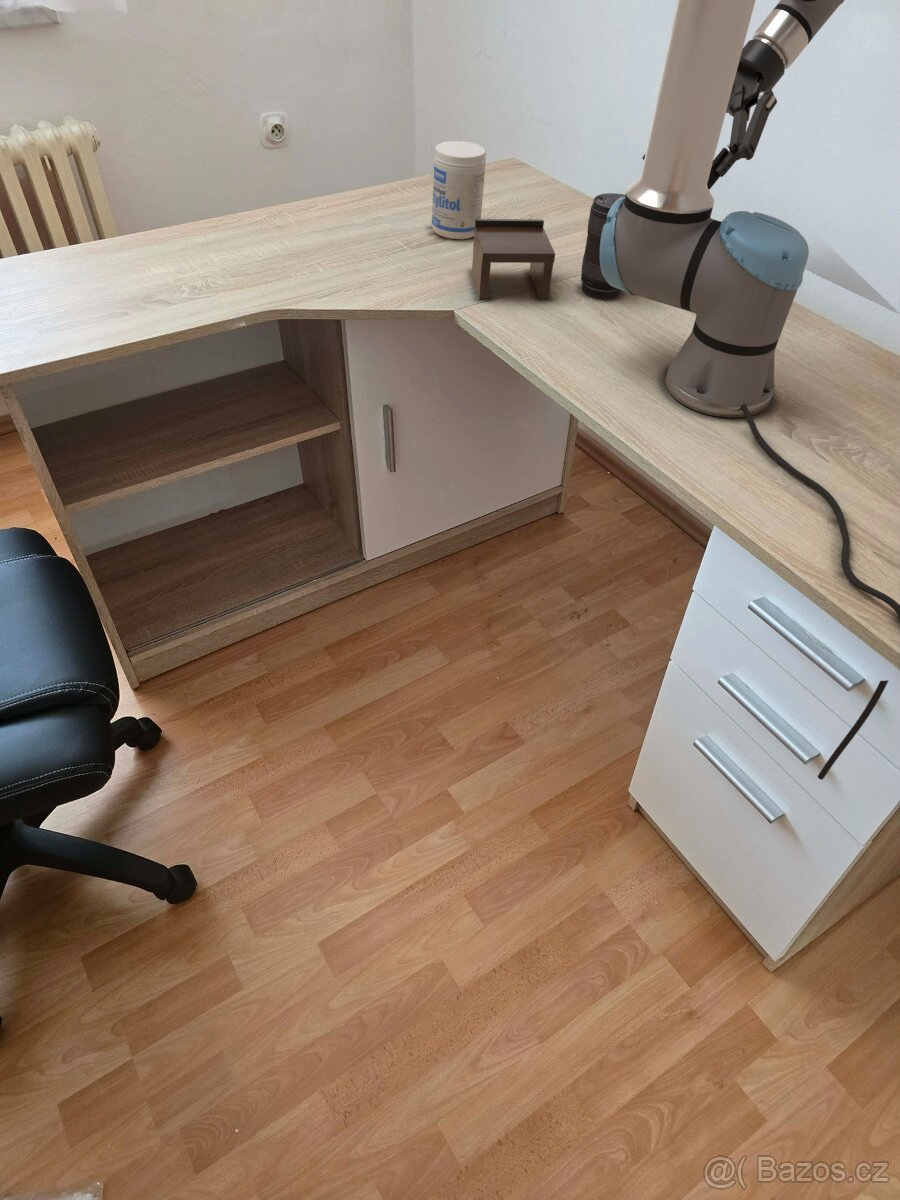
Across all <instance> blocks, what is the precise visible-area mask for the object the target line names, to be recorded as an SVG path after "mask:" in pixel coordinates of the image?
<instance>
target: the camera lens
mask: <svg viewBox="0 0 900 1200" xmlns="http://www.w3.org/2000/svg"><path fill="white" fill-rule="evenodd" d="M625 195H626V194H623V193H617V192H616V193H615V192H614V193H613V192H612V193H611V192H609V193H602V194H598V195H596V196H595V197H594V198H593V202H592V204H591V206H590V209H589V217H588V222H587V223H588V224H587V232H586V233H587V236H586V242H585V248H584V254H583V256H582V261H581V262H582V263H581V275H580V280H581V282H582V283H581V291H582V292H583V293H584V294H585V295H586V296H588V297H590V298H594V299H598V300H599V299H600V300H611V299H614V298H616V297H619V295H620V293H621V290H620V289H617V288H615V287H612V286H611V285H609V284H608V283H607V282H606V280H605V278H604V276H603V274H602V271H601V267H600V241H601V235H602V230H603V226H604V224H606V222H607V215H608V212H609V210H610V208H611V207H612V205H613V204H614V202H615V201H617V200H618V199H619V198H621V197H624V196H625Z"/></svg>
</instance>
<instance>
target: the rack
mask: <svg viewBox="0 0 900 1200" xmlns="http://www.w3.org/2000/svg"><path fill="white" fill-rule="evenodd" d="M544 225H545V220H544V219H537V218H535V219H531V218H530V219H528V218H527V219H526V218H525V219H524V218H523V219H522V218H521V219H520V218H481V219H475V225H474V236H473V247H472V262H471V263H472V265H471V274H472V277H473V281H474V286H475V289H476V294H477V297H478V300H480V301H481V300H483V301H485V300H489V291H490V289H489V288H490V278H491V277H490V276H491V265H492V263H493V264H494V263H496V264H497V263H501V264H503V263H507V264H509V263H511V264H512V263H514V264H516V263H519V264H521V263H523V264H528V263H529V272H528V273H529V275H530V278H531V279H532V283H533V285H534V288H535V291H536V293H537V296H538V298H539V300H540V301H541V300H544V301H545V300H546V301H548V300H549V298H550V291H551V290H550V289H551V282H552V275H553V267H554V264H555V259H556V252H555V250H554V247H553V246H552V244H551V241H550V239H549V237H548V235H547V232H546V231H545V228H544Z"/></svg>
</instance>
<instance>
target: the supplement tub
mask: <svg viewBox="0 0 900 1200" xmlns="http://www.w3.org/2000/svg"><path fill="white" fill-rule="evenodd" d="M434 152H435V153H434V157H433V158H434V159H433V178H432V179H433V181H432V199H431V201H432V205H431V229H432V231H433V232H434V233H435V234H437V235H438V236H440V237H443V238H446V239H450V240H454V239H455V240H467V239H471V238H474V225H475V219H482V211H483V210H482V209H483V198H484V187H485V175H486V163H487V158H486V155H487V151H486V148H485V147H483V146H482V145H480V144H477V143H474V142H472V141H464V140H447V141H442V142H440V143H438V144H437V145H436V146H435V151H434Z"/></svg>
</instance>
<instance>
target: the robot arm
mask: <svg viewBox="0 0 900 1200" xmlns="http://www.w3.org/2000/svg"><path fill="white" fill-rule="evenodd" d="M844 2H845V0H779V1H778V3H777V4H776V6H775V7H773V9H772V10H771V12H770V13H769V14H768V15H767V16H766V18H765V19H764V20H763V21H762V23H761V24H760V25H759V26H758V28H757V29H756V30H755V32H754V33H753V34H752V39H750V40H748V41H747V42H746V44H745V41H746V38H747V34H748V30H749V26H750V24H751V23H750V22H751V19H752V15H753V11H754V7H755V4H756V0H676V4H675V8H674V9H675V10H674V15H673V18H672V23H671V29H670V34H669V38H668V44H667V49H666V53H665V58H664V63H663V68H662V72H661V77H660V82H659V86H658V91H657V96H656V101H655V106H654V111H653V116H652V121H651V126H650V129H649V130H650V131H649V136H648V140H647V144H646V150H645V153H644V154H643V156H642V157H641V159H642V160H643V165H642V169H641V174H640V175H639V177H638V178H637V179H636V180H635V181H633V182H631V184H629V185H627V188H626V190H625V194H624V195H625V196H624V197H621V198H619V199H618V200H617V201H615V202H614V204H613V205H612V207H611V208H610V210H609V212H608V215H607V222H606V224H604V226H603V230H602V235H601V241H600V267H601V271H602V274H603V276H604V278H605V280H606V282H607V283H608V284H609V285H611V286H612V287H615V288H617V289H620V291H623V292H626V294H628V295H630V296H633V297H634V296H635V297H640V298H643V299H646V300H651V301H654V302H657V303H660V304H663V305H667V306H671V307H672V308H673V307H674V308H677V309H681V310H684V311H687V312H691V313H694V314H695V320H694V323H693V327H692V330H691V332H690V334H689V335H688V337H687V339H686V340H685V342H684V343H683V345H682V346H681V348H680V349H679V351H678V352H677V353H676V355H675V357H674V358H673V359H672V361H671V363H670V364H669V366H668V369H667V372H666V376H665V387H666V389H667V391H668V392H669V394H670V395H671V396H672V397H673V398H674V399H675V400H676V401H678V403H680V404H682V405H683V406H685V407H688V408H689V409H692V410H694V411H696V412H699V413H703V414H706V415H710V416H714V417H719V418H720V417H721V418H732V419H733V418H734V419H735V418H745V420H746V421H747V423H748V426H749V428H750V431H751V433H752V435H753V437H754V438H755V440H756V441H757V442H758V444H759V445H760V447H761V448H762V449H763V450H764V451H765V453H767V454H768V456H770V457H771V458H772V459H773V460H774V461H775V462H777V464H779V465H780V466H781V467H782V468H784V470H786V471H787V472H788V473H790V474H791V475H793V476H794V477H795V478H797V479H799V480H800V481H802V482H803V483H805V484H806V485H808V486H809V487H812V488H813V489H814V490H816V491H817V492H818V493H819V494H820V495H821V496H823V497H824V499H825V500H826V501H827V502H828V503H829V505H830V506H831V508H832V510H833V511H834V514H835V517H836V520H837V522H838V523H837V524H838V526H839V530H840V535H841V538H842V548H841V556H840V557H841V559H840V560H841V566H842V569H843V572H844V574H845V576H846V578H847V579H848V581H850V583H852V584H853V585H854V586H855V587H856V588H857V589H859V590H861V591H863V592H864V593H867V594H868V595H870V596H872V597H875V598H876V599H878V600H880V601H881V602H883V603H885V604H886V605H888V606H889V607H890V608H891V609H892V610H893V611H894V612H895V613H896V614H897V617H898V619H899V620H900V604H899V603H898V602H897V601H896V600H895V599H894V598H892V597H891V596H889V595H887V594H885V592H882V591H880V590H878V589H876V588H874V587H872V586H869V585H868V584H866V583H865V582H863V581H862V580H860V579H859V578H858V577H857V576H856V575H855V574H854V572H853V570H852V568H851V566H850V561H849V560H850V559H849V554H850V546H851V544H850V543H851V542H850V534H849V531H848V527H847V524H846V523H847V522H846V520H845V516H844V514H843V510H842V509H841V506H840V504H839V503H838V502H837V500H836V499H835V498H834V496H833V495H832V494H831V493H830V492H829V491H828V490H827V489H826V488H824V487H823V486H822V485H821V484H820V483H818V482H817V481H815V480H813V479H812V478H810V477H809V476H807V475H805V474H804V473H802V472H800V471H799V470H797V469H796V468H795V467H793V466H792V465H791V464H790V463H789V462H787V460H785V459H784V458H782V457H781V456H780V455H779V454H778V453H777V452H776V451H775V450H774V449H773V448H772V447H771V446H770V444H768V443H767V442H766V440H765V438H763V436H762V435H761V434H760V432H759V430H758V427H757V425H756V422H755V420H754V418H753V416H754V415H756V414H760V413H762V412H763V411H764V410H765V409H767V407H768V406H769V405H770V402H771V400H772V397H773V395H774V391H775V366H776V365H775V361H776V358H775V357H776V348H777V346H778V343H779V340H780V338H781V335H782V332H783V330H784V327H785V323H786V321H787V319H788V316H789V313H790V310H791V308H792V305H793V303H794V300H795V297H796V295H797V292H798V289H799V288H800V287H801V285H802V283H803V281H804V279H803V277H804V272H805V270H806V267H807V262H808V260H809V255H810V249H809V244H808V242H807V240H806V238H805V237H804V236H803V235H802V233H800V231H798V229H796V228H795V227H794V226H792V225H791V224H790V223H787V222H785V221H784V220H782V219H780V218H777V217H775V216H772V215H769V214H765V213H761V212H758V211H757V212H756V211H754V212H750V211H747V210H739V211H734V212H733V211H732V212H730V213H728V214H727V215H726V216H725V217H724V219H722V221H720V220H717V219H714V218H712V217H711V216H712V213H713V208H714V205H715V199H714V196H713V194H712V193H711V191H710V190H711V189H712V188H713V186H714V185H715V184H716V183H717V181H718V180H719V179H720V178H723V177H724V176H725V175H726V174H727V173H728V172H729V171H730V169H731V168H732V167H733V166H734V164H735V163H736V162H737V161H739V160H741V159H745V160H746V161H751V160H752V159H753V157H754V156H755V153H756V150H757V148H758V145H759V143H760V140H761V137H762V134H763V132H764V129H765V127H766V124H767V121H768V119H769V116H770V114H771V112H772V111H773V109H774V108H775V107H776V105H777V103H778V100H777V97H776V95H775V93H774V91H773V89H774V88H775V86H776V85H777V83H779V81H780V80H781V78H782V77H783V76H784V75H785V71H786V70H788V69H789V68H790V67H791V66H792V65H793V64H794V62H795V61H796V60H797V59H798V57H799V56H801V55H800V54H801V53H802V52H803V51H804V50H805V49H806V47H807V46H808V45H809V44H810V42H811V41H812V40H813V39H814V37H815V36H816V35H817V34H818V32H819V31H820V30H821V29H822V28H823V26H824V25H825V24H826V23H827V21H828V20H829V19H830V18H831V17H832V15H833V14H834V13H835V12H836V10H837V9H838V8H839V7H840V6H841V5H842V4H843V3H844ZM752 107H754V109H753V112H752V115H751V109H752ZM726 114H729V116H731V117H733V118H732V124H731V125H732V126H731V132H730V139H729V144H726V147H727V148H726V147H723V148H721V150H720V151H719V153H718V154H717V155H716V151H717V147H718V145H719V140H720V138H721V137H720V136H721V133H722V128H723V124H724V121H725V117H726ZM750 115H751V117H750ZM748 122H749V123H748ZM715 155H716V156H715ZM888 683H889V680H880V681H879V682H878V685H877V687H876V688H875V690H874V692H873V694H872V696H871V698H870V700H869V701H868V703H867V705H866V706H865V708H864V710H862V712H861V714H860V716H859V717H858V719H857V720H856V721H855V723H854V724H853V726H852V727H851V729H849V731H848V733H847V734H846V735H845V737H844V738H843V739H842V741H840V743H839V745H838V746H837V747H836V749H835V750H834V751H833V752H832V754H831V755H830V756H829V758H828V760H827V761H826V763H825V764H824V766H823V767H822V768H821V770H820V772H819V773H818V774H817V778H818V779H819V780H824V779H825V777H826V776H827V775H828V773H829V771H830V770H831V769H832V767H833V765H834V764H835V763H836V761H837V760H838V759H839V758H840V756H841V755H842V754H843V752H844V750H845V749H846V748H847V747H848V745H849V744H850V743H851V742H852V740H853V739H854V737H855V736H856V735H857V734H858V732H859V731H860V729H861V728H862V726H864V724H865V722H866V721H867V719H868V718H869V716H870V715H871V713H872V712H873V710H874V708H875V707H876V705H877V703H878V702H879V700H880V698H881V697H882V694H883V693H884V692H885V689H886V686H887V685H888Z"/></svg>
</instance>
